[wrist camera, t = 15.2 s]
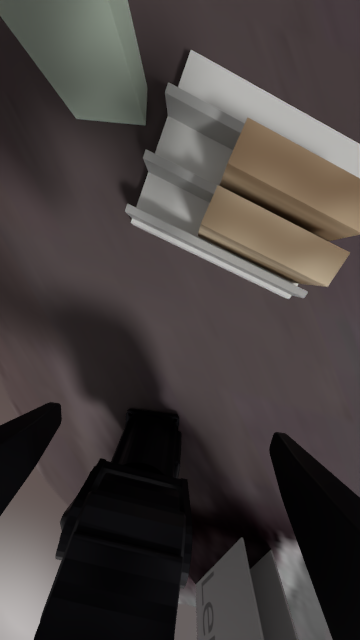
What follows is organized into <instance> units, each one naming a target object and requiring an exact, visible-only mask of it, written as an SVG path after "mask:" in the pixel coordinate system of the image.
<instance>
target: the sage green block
mask: <svg viewBox="0 0 360 640" xmlns="http://www.w3.org/2000/svg"><path fill="white" fill-rule="evenodd" d="M0 16H1V18H2V19H3V20H4V22H5V23H6V24H7V26H8V27H9V29H10V30H11V31H12V33H13V34H14V35H15V37H16V38H17V39H18V41H19V42H20V43H21V45H22V46H23V47H24V49H25V50H26V52H27V53H28V54H29V56H30V57H31V58H32V60H33V61H34V62H35V64H36V65H37V66H38V68H39V69H40V70H41V72H42V73H43V74H44V76H45V77H46V79H47V80H48V81H49V83H50V84H51V85H52V87H53V88H54V89H55V91H56V92H57V93H58V95H59V96H60V97H61V99H62V100H63V102H64V103H65V104H66V106H67V107H68V108H69V110H70V111H71V112H72V114H73V115H74V116H75V118H76V119H82V120H92V121H103V122H113V123H124V124H134V125H145V126H146V109H147V84H146V79H145V75H144V70H143V66H142V62H141V57H140V53H139V48H138V44H137V40H136V35H135V31H134V26H133V22H132V17H131V13H130V9H129V4H128V0H0Z"/></svg>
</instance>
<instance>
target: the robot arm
mask: <svg viewBox="0 0 360 640" xmlns="http://www.w3.org/2000/svg"><path fill="white" fill-rule="evenodd" d="M130 413H132V414H130ZM175 419H176V420H175ZM61 420H62V417H61V405H60V404H59V403H53V402H50V403H47V404H45V405H43V406H41V407H38V408H36V409H34V410H32V411H30V412H28V413H26V414H24V415H21V416H19V417H17V418H15V419H13V420H11V421H9V422H7V423H5V424H2V425H0V516H1V514H2V513H3V511H4V510H5V508H6V507H7V506H8V504H9V503H10V501H11V500H12V499H13V497H14V496H15V494H16V493H17V492H18V490H19V489H20V487H21V486H22V485H23V483H24V482H25V480H26V479H27V477H28V476H29V475H30V473H31V472H32V470H33V469H34V467H35V466H36V464H37V463H38V461H39V460H40V458H41V456H42V455H43V453H44V451H45V450H46V448H47V446H48V445H49V443H50V441H51V439H52V438H53V436H54V434H55V433H56V431H57V429H58V428H59V426H60V424H61ZM178 426H179V416H178V415H176V414H168V413H160V412H153V411H145V410H137V409H128V411H127V413H126V426H125V429H124V431H123V434H122V436H121V439H120V441H119V444H118V446H117V448H116V451H115V453H114V456H113V458H112V461H111V462H109V461H106V460H105V459H101V458H100V460H99V462H98V464H97V465H96V466H94V468H93V470H92V471H91V472H90V474H89V476H88V478H87V480H86V481H85V483H84V485H83V487H82V488H81V490H80V492H79V493H78V495H77V497H76V498H75V499H74V500H73V502H72V503H71V504H70V506H69V507H68V508H67V510H66V511H65V512H64V514H63V516H62V518H61V521H60V525H61V530H62V533H61V536H60V541H59V544H58V548H57V552H56V559H59V560H62V561H61V564H60V566H59V569H58V572H57V575H56V577H55V580H54V583H53V585H52V588H51V591H50V594H49V596H48V599H47V602H46V604H45V607H44V610H43V613H42V616H41V620H40V624H39V626H38V629H37V631H36V634H35V637H34V640H174V633H175V624H176V615H177V607H178V599H179V591H180V588H183V589H184V587H185V585H186V583H187V579H188V574H189V569H190V561H191V551H192V518H191V509H190V500H189V491H188V482H187V479H183V478H182V479H178V475H179V468H180V455H181V432H180V431H178ZM269 451H270V456H271V460H272V464H273V467H274V471H275V475H276V478H277V482H278V486H279V490H280V493H281V497H282V500H283V503H284V506H285V509H286V511H287V514H288V517H289V520H290V523H291V525H292V528H293V531H294V534H295V536H296V539H297V542H298V545H299V548H300V550H301V553H302V556H303V559H304V561H305V564H306V567H307V570H308V572H309V575H310V578H311V581H312V584H313V586H314V589H315V592H316V595H317V597H318V600H319V603H320V606H321V609H322V611H323V614H324V617H325V620H326V622H327V625H328V628H329V631H330V633H331V636H332V639H333V640H360V497H358V496H357V495H356V494H355V493H354V492H353V491H352V490H350V489H349V488H348V487H347V486H346V485H345V484H343V483H342V482H341V481H340V480H339V479H338V478H337V477H335V476H334V475H333V474H332V473H331V472H330V471H328V470H327V469H326V468H325V467H324V466H323V465H322V464H320V463H319V462H318V461H317V460H316V459H315V458H313V457H312V456H311V455H310V454H309V453H308V452H306V451H305V450H304V449H303V448H302V447H301V446H300V445H298V444H297V443H296V442H295V441H294V440H293V439H291V438H290V437H289V436H288V435H287V434H285V433H280V432H275V433H274V435H273V438H272V441H271V444H270V449H269Z"/></svg>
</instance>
